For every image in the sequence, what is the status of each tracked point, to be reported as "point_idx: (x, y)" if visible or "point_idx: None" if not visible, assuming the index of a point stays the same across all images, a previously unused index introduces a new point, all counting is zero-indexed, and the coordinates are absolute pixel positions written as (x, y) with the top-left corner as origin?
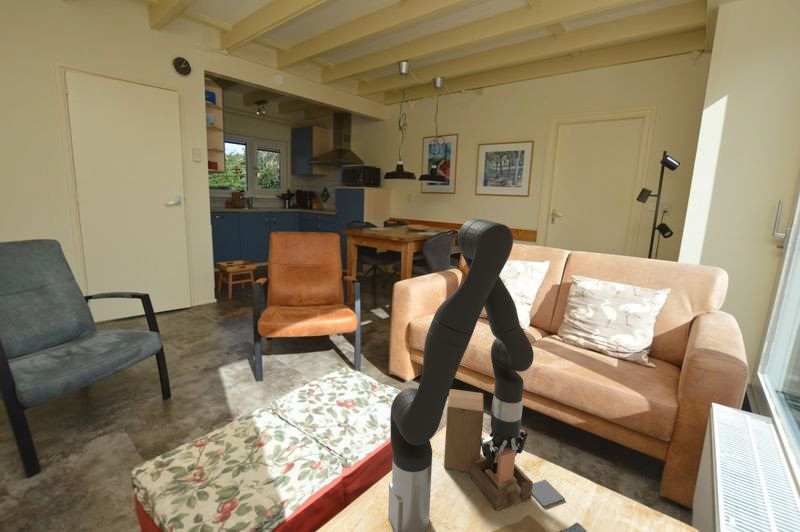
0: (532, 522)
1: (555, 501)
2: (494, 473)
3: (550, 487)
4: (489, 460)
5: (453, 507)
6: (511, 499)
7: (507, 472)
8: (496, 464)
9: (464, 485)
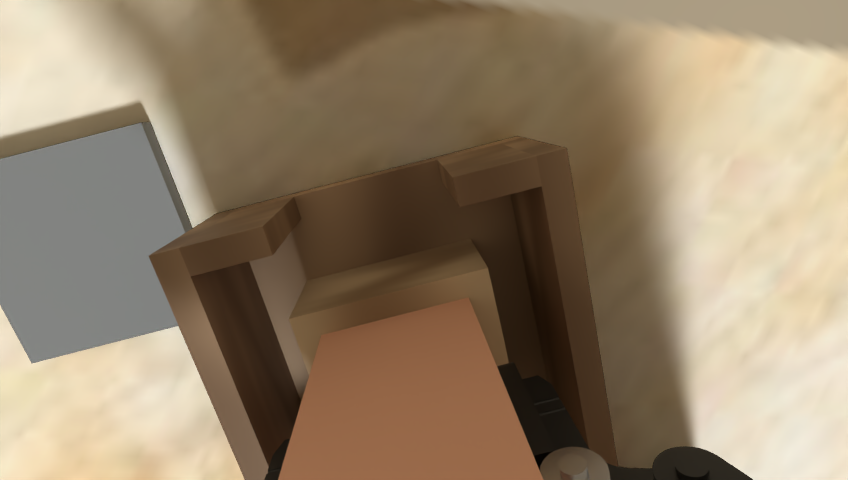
0: (290, 2)
1: (24, 153)
2: (513, 367)
3: (17, 287)
4: (711, 466)
5: (782, 196)
6: (376, 202)
7: (387, 361)
8: (535, 431)
9: (634, 360)
